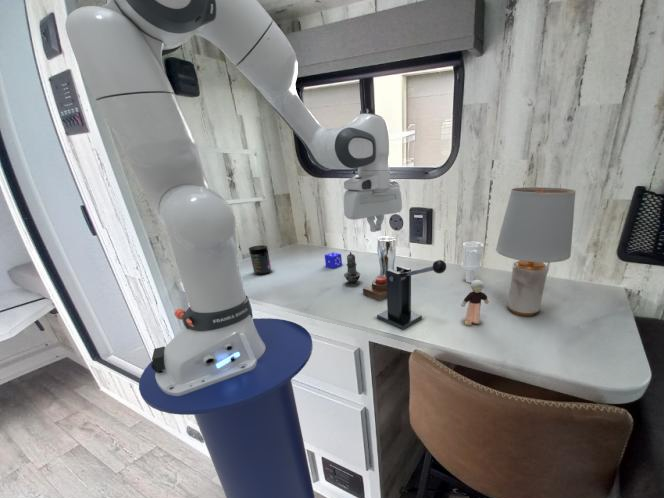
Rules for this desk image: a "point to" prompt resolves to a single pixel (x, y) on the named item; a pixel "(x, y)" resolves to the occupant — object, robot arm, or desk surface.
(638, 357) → the desk surface
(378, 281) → the button
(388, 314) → the bracket
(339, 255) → the die
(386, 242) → the beer glass
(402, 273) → the lever
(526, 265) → the lamp
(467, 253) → the clear tall cylinder
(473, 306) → the grandmother figurine
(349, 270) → the grey tall figure
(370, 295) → the control block
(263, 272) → the supplement container
